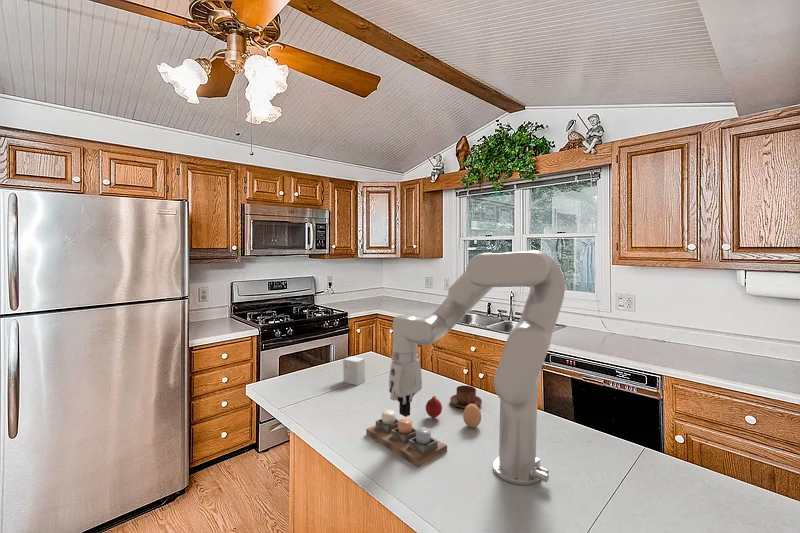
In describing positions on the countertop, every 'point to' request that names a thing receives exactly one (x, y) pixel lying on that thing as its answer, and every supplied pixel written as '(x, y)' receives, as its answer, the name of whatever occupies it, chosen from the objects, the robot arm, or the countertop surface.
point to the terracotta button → (405, 426)
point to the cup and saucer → (465, 397)
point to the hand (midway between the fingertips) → (404, 414)
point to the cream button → (388, 417)
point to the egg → (472, 416)
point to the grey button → (423, 436)
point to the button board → (406, 443)
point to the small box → (354, 370)
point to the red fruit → (433, 407)
